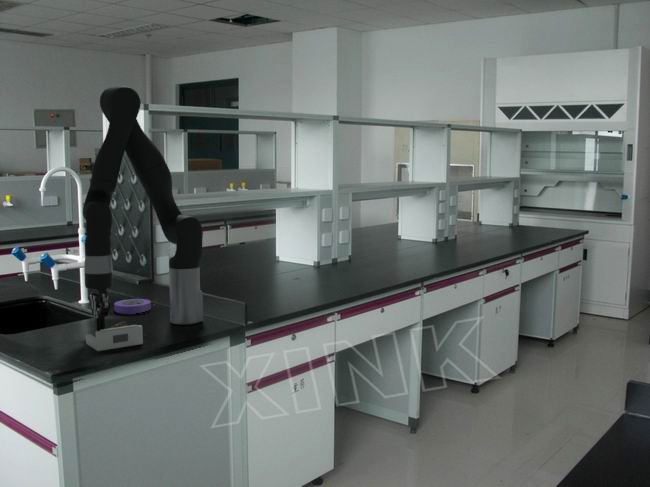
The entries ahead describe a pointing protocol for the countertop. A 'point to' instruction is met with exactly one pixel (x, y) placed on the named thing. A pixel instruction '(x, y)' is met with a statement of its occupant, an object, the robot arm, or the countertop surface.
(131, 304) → the masking tape
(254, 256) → the countertop surface
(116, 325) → the mineral rock
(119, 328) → the dock
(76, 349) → the countertop surface
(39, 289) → the countertop surface
